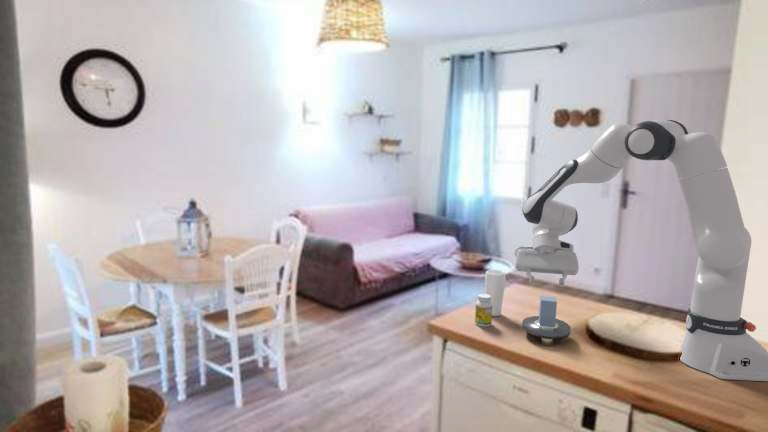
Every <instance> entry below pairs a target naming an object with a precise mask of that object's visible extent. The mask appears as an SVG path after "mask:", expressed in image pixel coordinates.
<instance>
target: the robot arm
mask: <svg viewBox="0 0 768 432" xmlns="http://www.w3.org/2000/svg"><path fill="white" fill-rule="evenodd" d="M632 158H635V159H637V160H641V161H642V160H643V161H666V160H668V161H670V162H671V163H672V164H673V166H674V168H675V171H676V174H677V179H678V182H679V184H680V188H681V191H682V194H683V198H684V202H685V204H686V208H687V214H688V218H689V219H688V220H689V223H690V228H691V231H692V232H691V233H692V236H693V241H694V244H695V249H696V252H697V253H696V254H698V259H697V264H696V269H695V275H694V279H693V285H692V291H691V292H692V293H691V301H690V307H689V308H687V309H688V310H687V315H686V319H685V329H686V330H685V335H684V338H683V340H682V343H681V347H680V348H681V350H682V355H681V357H680V360H679V361H680V362H682V363H684V364H685V365H687V366H688V367H691V368H693V369H695V370H698V371H701V372H703V373H707V374H709V375H711V376H713V377H715V378H718V379H721V380H734V381H735V380H738V381H754V382H755V381H756V382H758V381H759V382H768V350H767V349H766V348H765V347H764V346H763V344H761V343H759V342H758V340H756V339H755V338H754V337H752V336H751V335H750V334H749V333H747V331H748V332H755V331H756V329H757V326H756V325H755V324H753V323H752V322H749V321H747V320H746V319H744V318H743V317H741V314H742V309H743V301H744V295H745V294H744V293H745V286H746V282H747V281H746V280H747V274H748V266H749V263H750V262H749V261H750V254H751V249H752V248H751V247H752V235H751V234H750V232H749V230H748V229H747V228H746V227H745V225H744V221H743V220H744V219H743V217H742V212H741V209H740V206H739V202H738V201H739V200H738V196H737V194H736V191H735V187H734V183H733V180H732V178H731V175H730V171H729V168H728V166H727V162H726V158H725V157H724V153H723V152H722V150H721V148H720V145H719V144H718V142H717V141H716V140H715V138H714V136H712V135H711V134H710V133H708V132H703V131H697V132H692V133H689V131H688V129H687V127H686V126H685V125H684V124H682V122H679V121H677V120H672V119H671V120H670V119H667V120H666V119H652V120H645V121H641V122H639V123H637V124H635V125H634V126H632V125H630V124H628V123H624V122H616V123H614V124H612V125H610V126H609V127H608V129H607V130H605V131H604V132H603V133H602V134H601V135H600V136H599V137H598V139H597V140H596V141H595V142H594V143H593V145H592V146H591V147H590V149H588V151H586V152H585V153H584V154H582V155H581V156H580V157H578V158H576V159H571V160H568V161H567V162H566V163H565V164H563V165H562V166H561V167H560V168H559V169H557V171H556V172H555V173H554V174H553V175H552V176H551V177H550V178H549V179H548V180H547V181H546V182H545V183H544V184H543V185H542V186H541V187H540V188H539V189H538V190H537V191H535V192H534V193H533V194H531V195H530V196H528V198H527V199H526V200H525V201H524V202H523V205H522V211H521V212H522V215H523V217H524V218H525V220H526V221H527V222H528V223H530V224H532V234H533V237H532V246H519V247H516V248H515V250H514V256H515V257H516V259H515V270H516V271H517V272H521V273H522V272H525V275H526V277H527V278H528V279H529V280H528V281H529V283H530V284H531V283H532V284H534V283H535V276H534V275H532V274H531V273H539V274H552V275H561V277H559V280H558V285H559V286H565V280H567V277H568V276H576V275H577V274H578V273H579V271H580V270H579V268H580V266H579V261H578V256H577V254H576V253H575V252H574V245H573V244H572V243H570V242H566V241H563V240H561V239H559V237H560V236H564V235H566V234H568V233H569V232H572V230H574V229H575V228H576V227H577V225H578V221H579V215H578V211H577V209H576V207H574V206H572V205H570V204H568V203H564V202H561V201H558V200H556V199H554V198H555V197H556V196H558V194H560V192H561V191H563V189H564V188H566V187H568V186H571V185H573V184H574V185H575V184H601V183H602V184H603V183H607V182H609V181H611V180H612V179H614V178H615V177H616V176H617V175H618V174H619V173H620V172H621V171H622V169H623V168H624V167H625V166H626V164H627V163H628V162H629V161H630V159H632Z"/></svg>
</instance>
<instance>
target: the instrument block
mask: <svg viewBox="0 0 768 432" xmlns="http://www.w3.org/2000/svg"><path fill="white" fill-rule="evenodd" d="M557 306H558V301H557V297H556V296H547V295H540V296H539V308H538V309H539V310H538V316H539V326H548V327H555V320H556V319H557V318H556V317H557Z"/></svg>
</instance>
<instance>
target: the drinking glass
mask: <svg viewBox="0 0 768 432" xmlns="http://www.w3.org/2000/svg"><path fill="white" fill-rule="evenodd" d="M506 275H507V273H506V272H505V271H503V270H498V269H488V270H486V271H485V275H484V276H485V278H484V290H485V291H484V292H485V293H484V294H487V295H490V296H491V301H490V302H491V303H492V305H493V307H492V317H500V316H501V315H502V308H503V301H504V296H505V295H504V294H505V290H506V289H505V288H506V282H507V281H506V279H507V277H506Z"/></svg>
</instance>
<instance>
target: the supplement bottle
mask: <svg viewBox="0 0 768 432" xmlns="http://www.w3.org/2000/svg"><path fill="white" fill-rule="evenodd" d="M490 301H491V296H490V295H487V294H485V293H480V294H478V295H477V301H476V302H475V312H474V313H475V314H474V315H475V316H474V317H475V318H474V324H475V325H476V326H479V327H490V326H491V325H492V323H493V322H492V321H493V316H492V307H493V305H492V303H491V302H490Z"/></svg>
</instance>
